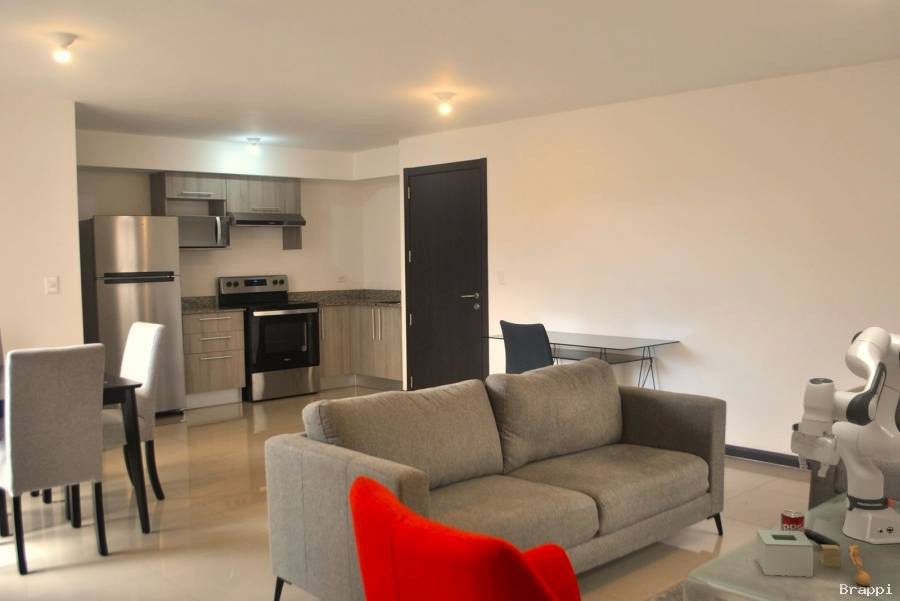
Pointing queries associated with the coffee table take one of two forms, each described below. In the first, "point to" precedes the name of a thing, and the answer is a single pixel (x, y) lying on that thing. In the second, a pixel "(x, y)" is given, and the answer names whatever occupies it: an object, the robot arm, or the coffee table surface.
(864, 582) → the figurine
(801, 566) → the coin box
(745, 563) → the coffee table surface
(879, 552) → the coffee table surface
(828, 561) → the tan rectangular block
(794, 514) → the soda can
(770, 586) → the coffee table surface
